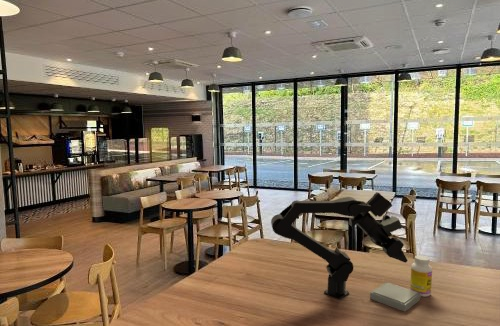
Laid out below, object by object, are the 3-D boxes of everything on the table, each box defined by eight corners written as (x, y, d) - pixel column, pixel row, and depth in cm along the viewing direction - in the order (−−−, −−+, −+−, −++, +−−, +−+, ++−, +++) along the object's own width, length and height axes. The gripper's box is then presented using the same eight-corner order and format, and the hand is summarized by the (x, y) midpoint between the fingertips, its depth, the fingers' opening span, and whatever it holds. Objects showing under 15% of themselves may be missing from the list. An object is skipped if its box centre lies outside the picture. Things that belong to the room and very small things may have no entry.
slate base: (404, 311, 114) (405, 304, 114) (369, 298, 123) (370, 291, 122) (420, 299, 122) (420, 292, 122) (386, 288, 131) (386, 281, 131)
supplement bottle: (428, 299, 122) (430, 262, 121) (407, 293, 126) (409, 258, 125) (432, 292, 128) (434, 257, 126) (412, 287, 132) (414, 253, 130)
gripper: (398, 216, 115) (431, 249, 116) (377, 204, 133) (405, 233, 134) (373, 240, 115) (406, 273, 116) (355, 224, 134) (383, 253, 135)
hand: (400, 256), depth 126 cm, fingers open, 9 cm apart
